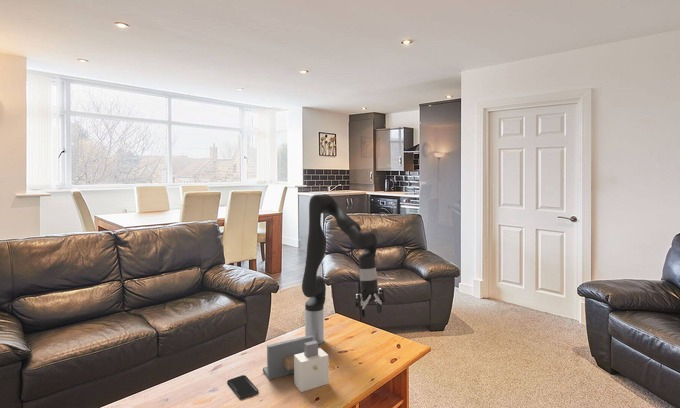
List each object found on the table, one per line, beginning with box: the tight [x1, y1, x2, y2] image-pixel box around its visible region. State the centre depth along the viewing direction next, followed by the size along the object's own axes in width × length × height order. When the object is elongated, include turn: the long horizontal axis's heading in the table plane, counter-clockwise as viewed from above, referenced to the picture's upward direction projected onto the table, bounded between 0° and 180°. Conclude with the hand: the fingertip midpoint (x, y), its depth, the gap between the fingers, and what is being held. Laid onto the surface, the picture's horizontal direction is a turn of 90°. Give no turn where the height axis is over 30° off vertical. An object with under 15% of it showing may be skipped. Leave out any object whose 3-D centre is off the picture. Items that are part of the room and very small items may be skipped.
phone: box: [226, 374, 259, 400], centre depth 148 cm, size 8×1×15 cm
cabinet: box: [293, 341, 329, 393], centre depth 150 cm, size 8×12×17 cm, turn 120°
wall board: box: [262, 335, 313, 381], centre depth 159 cm, size 12×20×14 cm, turn 120°
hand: (371, 315), depth 162 cm, fingers open, 8 cm apart
